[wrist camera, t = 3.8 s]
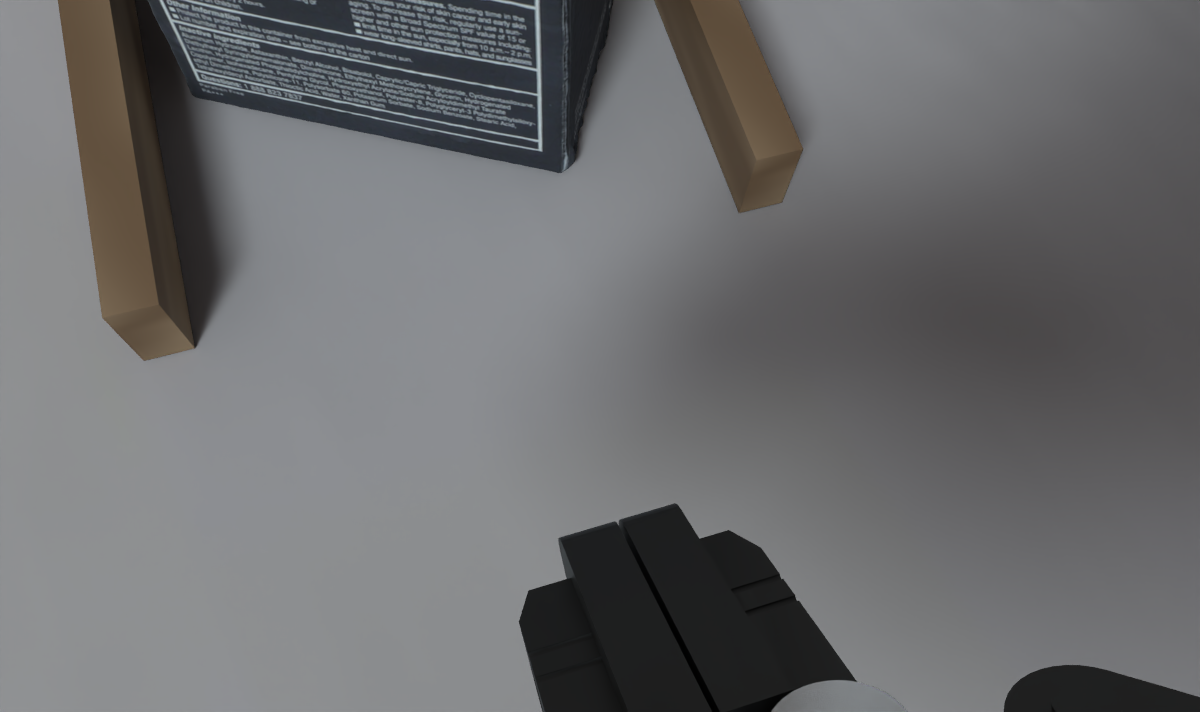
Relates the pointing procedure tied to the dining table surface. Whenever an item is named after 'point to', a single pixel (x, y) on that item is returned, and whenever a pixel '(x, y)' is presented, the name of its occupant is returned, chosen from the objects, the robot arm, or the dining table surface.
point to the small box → (403, 67)
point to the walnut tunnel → (138, 186)
